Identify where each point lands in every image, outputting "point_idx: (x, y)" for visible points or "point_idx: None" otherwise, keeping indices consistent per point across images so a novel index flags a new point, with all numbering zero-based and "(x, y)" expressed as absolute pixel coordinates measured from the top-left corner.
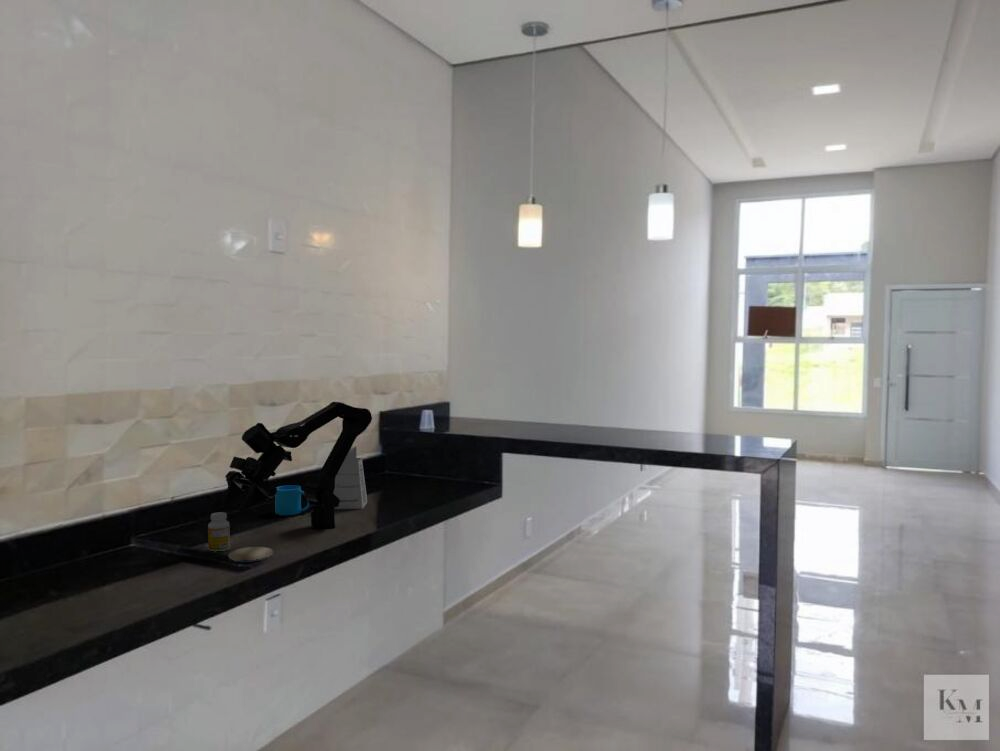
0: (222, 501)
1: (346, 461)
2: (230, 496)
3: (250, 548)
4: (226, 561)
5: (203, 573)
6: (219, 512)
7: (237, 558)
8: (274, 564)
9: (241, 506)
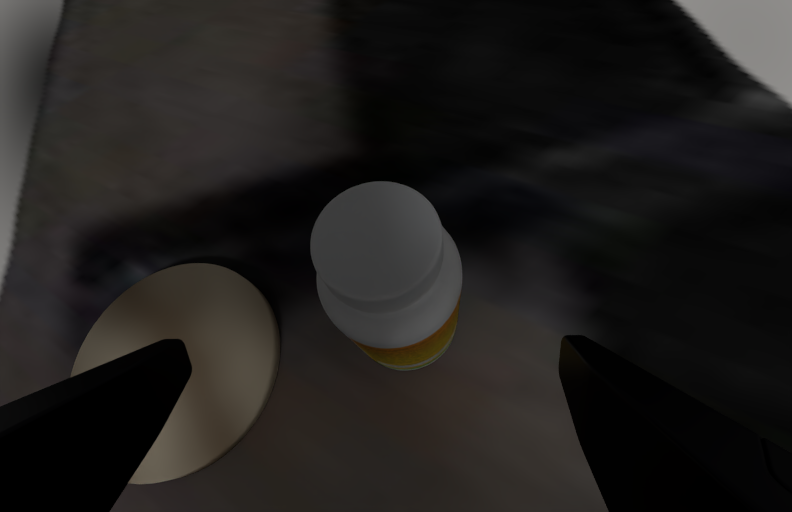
0: (612, 353)
1: None
2: (658, 505)
3: (229, 404)
4: (223, 258)
5: (184, 153)
6: (421, 263)
7: (160, 275)
8: (12, 373)
9: (119, 359)
